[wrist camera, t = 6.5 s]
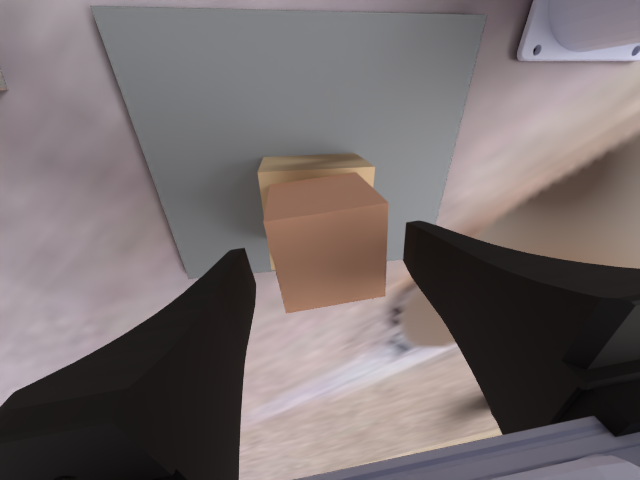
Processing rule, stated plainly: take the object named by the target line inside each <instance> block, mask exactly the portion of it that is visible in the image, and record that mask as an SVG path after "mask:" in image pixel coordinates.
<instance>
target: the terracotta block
mask: <svg viewBox="0 0 640 480" xmlns="http://www.w3.org/2000/svg"><path fill="white" fill-rule="evenodd" d="M388 210H389V203H388V202H387V201H386V200H385V199H384V198H383V197H382V196H381V195H380V194H379V193H378V192H377V191H376V190H375V189H374V188H372V187H371V186H370V185H369V184H368V183H367V182H366V181H365V180H364V179H363V178H362V177H361V176H360V175H359V174H358V173H357V172H354V173H347V174H340V175H333V176H326V177H319V178H312V179H305V180H299V181H292V182H285V183H278V184H271V185H270V187H269V192H268V198H267V204H266V209H265V215H264V221H263V223H264V227H265V231H266V235H267V239H268V243H269V247H270V251H271V255H272V259H273V263H274V267H275V271H276V275H277V279H278V283H279V287H280V291H281V295H282V299H283V302H284V306H285V310H286V313H291V312H297V311H303V310H309V309H314V308H320V307H326V306H331V305H337V304H343V303H348V302H354V301H360V300H365V299H371V298H377V297H382V296H385V287H386V261H387V236H388Z"/></svg>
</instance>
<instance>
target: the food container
mask: <svg viewBox="0 0 640 480" xmlns="http://www.w3.org/2000/svg"><path fill="white" fill-rule="evenodd" d="M3 90H8V89H7V86H6V84H5V81H4V78H3V75H2V72H1V69H0V91H3Z"/></svg>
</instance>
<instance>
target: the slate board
mask: <svg viewBox="0 0 640 480" xmlns="http://www.w3.org/2000/svg"><path fill="white" fill-rule="evenodd" d="M90 7H91V10H92V13H93V15H94V18H95V21H96V24H97V27H98V29H99V32H100V35H101V38H102V40H103V43H104V46H105V49H106V51H107V54H108V57H109V60H110V62H111V65H112V68H113V71H114V74H115V76H116V79H117V82H118V85H119V87H120V90H121V93H122V96H123V98H124V101H125V104H126V107H127V110H128V112H129V115H130V118H131V121H132V123H133V126H134V129H135V132H136V134H137V137H138V140H139V143H140V146H141V148H142V151H143V154H144V157H145V159H146V162H147V165H148V168H149V170H150V173H151V176H152V179H153V182H154V184H155V187H156V190H157V193H158V195H159V198H160V201H161V204H162V206H163V209H164V212H165V215H166V218H167V220H168V223H169V226H170V229H171V231H172V234H173V237H174V240H175V242H176V245H177V248H178V251H179V254H180V256H181V259H182V262H183V265H184V267H185V270H186V273H187V276H188V278H189V279H192V278H201V277H202V276H203V275H204V274H205V273H206V272H207V271H208V270H209V269H210V268H211V267H212V266H213V265H215V264H216V263H217V262H218V261H219V260H220V259H221V258H222V257H223V256H224V255H225V254H226V253H227V252H228V251H230V250H232V249H239V248H245V250H246V254H247V257H248V260H249V263H250V266H251V270H252V273H259V272H270V271H275V270H271V263H270V256H269V249H268V242H267V235H266V231H265V227H264V223H263V221H264V214H263V207H262V200H261V193H260V186H259V179H258V170H259V167H260V165H261V162H262V160H263V157H273V156H298V155H322V154H347V153H356V154H357V155H359V156H360V157H362V158H363V159H365V160H366V161H368V162H369V163H371V164H372V165H373V166H375V174H374V184H373V188H374V189H375V190H376V191H377V192H378V193H379V194H380V195H381V196H382V197H383V198H384V199H385V200H386V201H387V202H388V203H389V210H388V236H387V261H393V260H403V253H404V241H405V229H406V222H412V221H418V220H420V221H424V222H428V223H431V224H434V225H436V221H437V216H438V212H439V208H440V204H441V200H442V196H443V192H444V188H445V184H446V180H447V176H448V172H449V168H450V164H451V159H452V155H453V151H454V147H455V143H456V139H457V135H458V131H459V127H460V123H461V119H462V115H463V111H464V106H465V102H466V98H467V94H468V90H469V86H470V82H471V78H472V74H473V70H474V66H475V62H476V58H477V54H478V49H479V45H480V41H481V37H482V33H483V29H484V25H485V21H486V17H487V15H477V14H433V13H388V12H343V11H298V10H253V9H208V8H164V7H119V6H90Z"/></svg>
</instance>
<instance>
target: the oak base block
mask: <svg viewBox="0 0 640 480" xmlns="http://www.w3.org/2000/svg"><path fill="white" fill-rule="evenodd" d="M354 172H357V173H358V174H359V175H360V176H361V177H362V178H363V179H364V180H365V181H366V182H367V183H368V184H369V185H370V186H371V187H372V188H373V184H374V174H375V166H373V165H372V164H371V163H369V162H368V161H366V160H365V159H363V158H362V157H360V156H359V155H357V154H356V153H347V154H322V155H298V156H273V157H263V160H262V162H261V165H260V167H259V170H258V179H259V186H260V193H261V200H262V207H263V214H264V215H265V209H266V204H267V198H268V192H269V187H270V185H271V184H278V183H285V182H292V181H299V180H305V179H312V178H319V177H326V176H333V175H340V174H347V173H354ZM267 242H268V239H267ZM268 249H269V256H270V263H271V270H275V267H274V263H273V259H272V255H271V251H270V247H269V243H268Z"/></svg>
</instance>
